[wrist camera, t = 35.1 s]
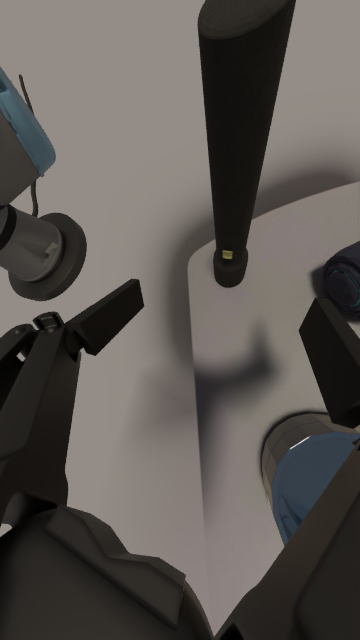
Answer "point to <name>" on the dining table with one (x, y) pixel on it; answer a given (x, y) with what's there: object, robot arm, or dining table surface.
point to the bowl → (302, 465)
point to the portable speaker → (344, 278)
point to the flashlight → (239, 112)
